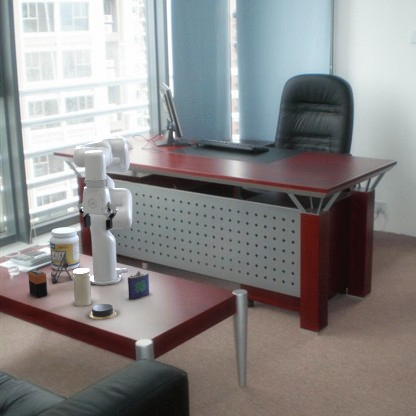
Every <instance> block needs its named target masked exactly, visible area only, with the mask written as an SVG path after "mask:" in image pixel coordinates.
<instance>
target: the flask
mask: <svg viewBox="0 0 416 416" xmlns="http://www.w3.org/2000/svg"><path fill="white" fill-rule="evenodd" d="M149 275H150V274H149V272H143V273H142V272H141V271H140V270H137V273H136V274H134V275H132V274H130V275H129V276H128V277H127V289H128V291H127V292H128V300H129V301H133V300H134V301H135V300H138V299H141V298H142V299H143V298H145V297H148V296H149V295H150V277H149Z"/></svg>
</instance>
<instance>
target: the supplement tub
mask: <svg viewBox="0 0 416 416" xmlns="http://www.w3.org/2000/svg"><path fill="white" fill-rule="evenodd" d="M77 233H78V232H77V228H75V227H70V226H69V227H68V226H66V227H65V226H63V227H58V228H53V229H52V230H51V236H50V237H49V249H50V265H51V268H52V269H54V270H55V271H57V269H58V266H59V264H60V262H61V259H62V258H63V257H66V258H67V262H68V265H69V266H68V267H67V268H66V269H67V270H68V271H71V270H76V269H78V267H80V265H81V253H80V252H81V251H80V237H79V235H77ZM61 267H62V263H61V265H60V268H59V270H58V271H60V269H61ZM62 271H66V270H65V268H63V269H62Z"/></svg>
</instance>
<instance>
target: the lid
mask: <svg viewBox="0 0 416 416" xmlns="http://www.w3.org/2000/svg"><path fill="white" fill-rule="evenodd" d="M113 309H114V306H113V304H110V303H99V304H96V305H93V306H92V307H91V311H92V315H93V316H96V317H106V316H109V315H111V314H112V313H113Z"/></svg>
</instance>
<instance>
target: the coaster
mask: <svg viewBox="0 0 416 416" xmlns="http://www.w3.org/2000/svg"><path fill="white" fill-rule="evenodd" d="M117 314H118V312H117V310H116V309H114V308H113V313H112V314H111V315H109V316H106V317H96V316H93V315H92V310H91V311H89V312H88V314H87V315H88V317H89V318H90V319H92V320H96V321H97V320H109V319H112V318H114V317H115V316H117Z"/></svg>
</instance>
